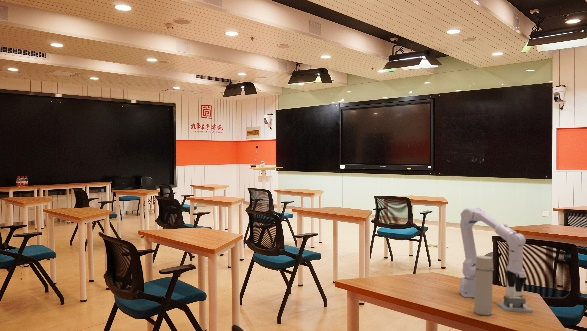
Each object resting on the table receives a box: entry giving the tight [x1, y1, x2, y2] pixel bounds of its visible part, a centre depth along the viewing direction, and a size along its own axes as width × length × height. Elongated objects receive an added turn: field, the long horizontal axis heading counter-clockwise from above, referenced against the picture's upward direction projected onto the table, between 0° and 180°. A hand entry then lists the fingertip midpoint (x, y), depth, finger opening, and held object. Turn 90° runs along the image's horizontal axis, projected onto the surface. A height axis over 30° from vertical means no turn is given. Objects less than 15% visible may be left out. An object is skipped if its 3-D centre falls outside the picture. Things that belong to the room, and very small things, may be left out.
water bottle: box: [473, 255, 495, 317], centre depth 196 cm, size 9×8×25 cm
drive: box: [503, 295, 527, 308], centre depth 203 cm, size 8×4×4 cm, turn 86°
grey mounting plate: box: [496, 298, 533, 313], centre depth 203 cm, size 12×9×3 cm
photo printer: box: [505, 280, 524, 297], centre depth 224 cm, size 10×4×12 cm, turn 123°
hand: (514, 289), depth 203 cm, fingers open, 7 cm apart
